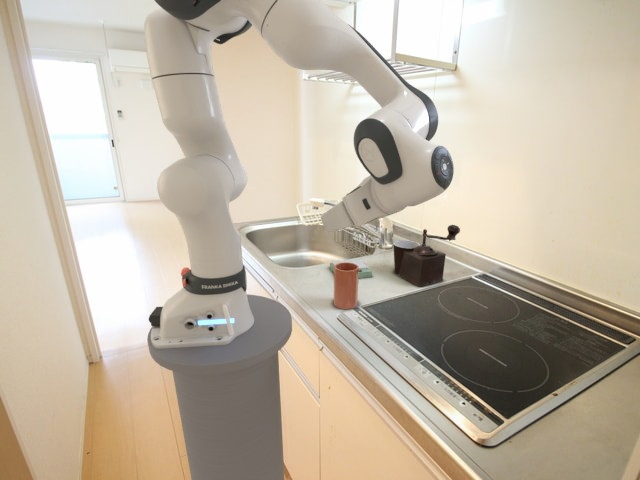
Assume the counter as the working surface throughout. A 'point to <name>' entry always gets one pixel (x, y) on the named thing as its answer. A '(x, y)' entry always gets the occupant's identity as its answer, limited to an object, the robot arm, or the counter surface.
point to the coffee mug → (402, 251)
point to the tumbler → (346, 285)
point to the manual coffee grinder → (425, 261)
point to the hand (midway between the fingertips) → (341, 212)
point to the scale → (363, 269)
